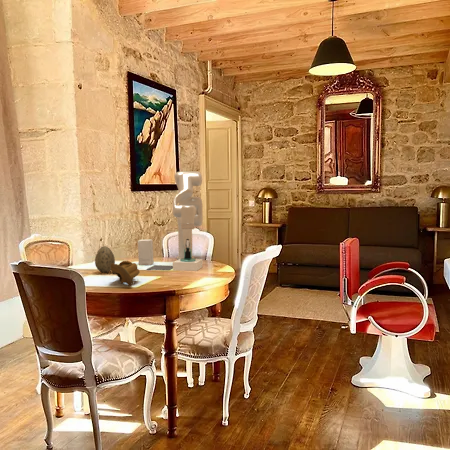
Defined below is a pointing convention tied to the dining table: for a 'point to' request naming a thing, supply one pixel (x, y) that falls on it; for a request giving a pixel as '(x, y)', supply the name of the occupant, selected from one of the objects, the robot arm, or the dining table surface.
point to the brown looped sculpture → (125, 271)
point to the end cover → (188, 258)
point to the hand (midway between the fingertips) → (187, 257)
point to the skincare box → (145, 252)
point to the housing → (187, 265)
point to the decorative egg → (104, 259)
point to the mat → (160, 267)
